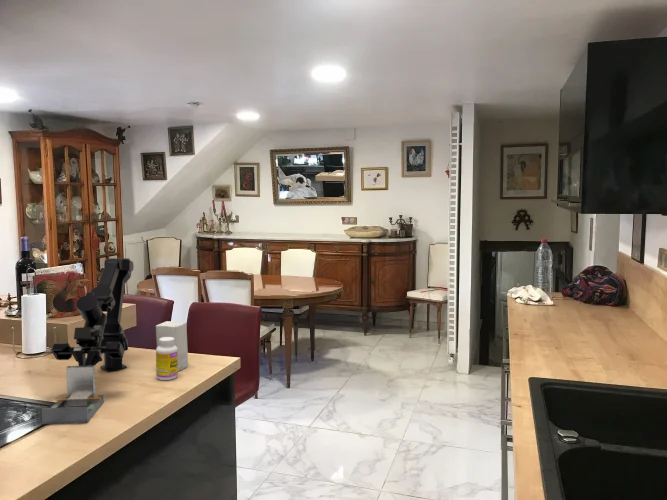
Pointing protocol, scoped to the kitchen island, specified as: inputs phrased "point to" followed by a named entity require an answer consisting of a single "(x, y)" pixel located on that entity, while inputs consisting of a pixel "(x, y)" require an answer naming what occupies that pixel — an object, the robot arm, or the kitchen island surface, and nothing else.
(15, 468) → the kitchen island surface
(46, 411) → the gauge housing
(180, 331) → the skincare box
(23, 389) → the kitchen island surface
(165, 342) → the supplement bottle
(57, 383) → the kitchen island surface
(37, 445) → the kitchen island surface
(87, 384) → the block
